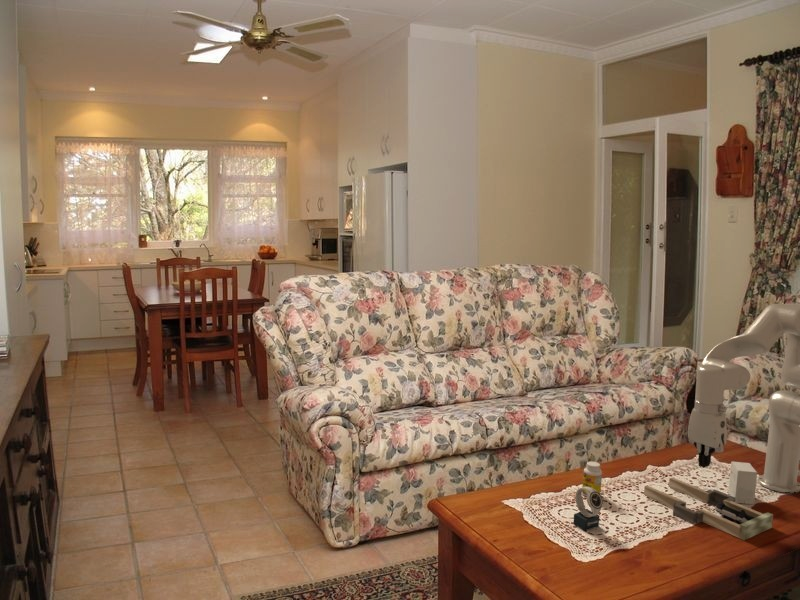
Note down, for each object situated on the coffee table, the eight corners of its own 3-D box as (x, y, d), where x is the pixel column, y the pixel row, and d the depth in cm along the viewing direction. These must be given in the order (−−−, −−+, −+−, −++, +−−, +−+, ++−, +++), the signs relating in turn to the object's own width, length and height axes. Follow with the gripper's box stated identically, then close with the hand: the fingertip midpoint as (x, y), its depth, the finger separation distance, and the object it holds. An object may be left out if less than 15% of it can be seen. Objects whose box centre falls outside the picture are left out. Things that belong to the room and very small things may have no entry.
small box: (754, 505, 214) (757, 472, 212) (734, 503, 215) (738, 470, 213) (746, 494, 221) (750, 462, 220) (727, 492, 222) (731, 460, 221)
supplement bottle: (578, 492, 219) (580, 461, 217) (592, 490, 221) (594, 459, 219) (589, 499, 214) (591, 468, 212) (604, 497, 216) (606, 465, 214)
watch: (590, 533, 193) (592, 496, 191) (568, 521, 199) (571, 485, 198) (604, 529, 195) (607, 492, 194) (583, 517, 202) (585, 481, 200)
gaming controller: (718, 519, 208) (709, 508, 205) (724, 507, 209) (716, 495, 206) (753, 534, 199) (745, 522, 196) (760, 521, 201) (752, 509, 197)
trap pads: (713, 500, 216) (713, 499, 216) (728, 507, 212) (728, 506, 212) (678, 514, 206) (678, 513, 206) (693, 521, 202) (693, 520, 202)
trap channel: (677, 483, 228) (679, 472, 227) (778, 524, 201) (779, 511, 200) (636, 498, 216) (637, 486, 215) (737, 543, 189) (738, 529, 189)
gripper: (739, 411, 201) (734, 471, 205) (693, 398, 214) (689, 455, 217) (725, 416, 197) (720, 477, 201) (678, 402, 209) (674, 460, 213)
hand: (704, 465), depth 209 cm, fingers closed
